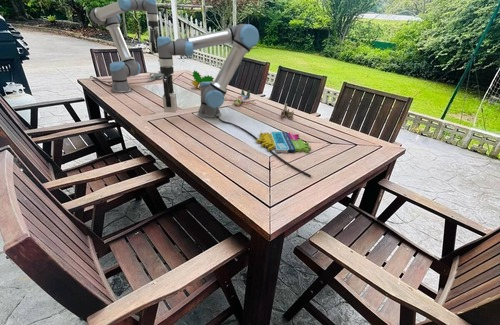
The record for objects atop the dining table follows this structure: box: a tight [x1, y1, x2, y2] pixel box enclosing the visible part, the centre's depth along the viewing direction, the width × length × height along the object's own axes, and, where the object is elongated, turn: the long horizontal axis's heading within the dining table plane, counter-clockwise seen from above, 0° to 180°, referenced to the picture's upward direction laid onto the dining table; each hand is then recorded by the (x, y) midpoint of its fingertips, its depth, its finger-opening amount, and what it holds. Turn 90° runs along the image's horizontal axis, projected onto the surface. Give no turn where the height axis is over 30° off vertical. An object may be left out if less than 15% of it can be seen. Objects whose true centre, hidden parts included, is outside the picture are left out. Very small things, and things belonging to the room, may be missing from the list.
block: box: [162, 93, 178, 114], centre depth 162 cm, size 7×6×10 cm
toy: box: [224, 89, 257, 106], centre depth 219 cm, size 28×7×30 cm
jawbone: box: [280, 103, 295, 120], centre depth 192 cm, size 9×15×10 cm
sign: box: [256, 131, 312, 154], centre depth 152 cm, size 26×2×30 cm
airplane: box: [145, 70, 164, 83], centre depth 274 cm, size 38×31×10 cm
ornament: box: [191, 69, 215, 90], centre depth 248 cm, size 21×8×15 cm, turn 105°
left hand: (156, 50), depth 209 cm, fingers open, 13 cm apart
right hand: (170, 105), depth 162 cm, fingers closed on block, 6 cm apart
